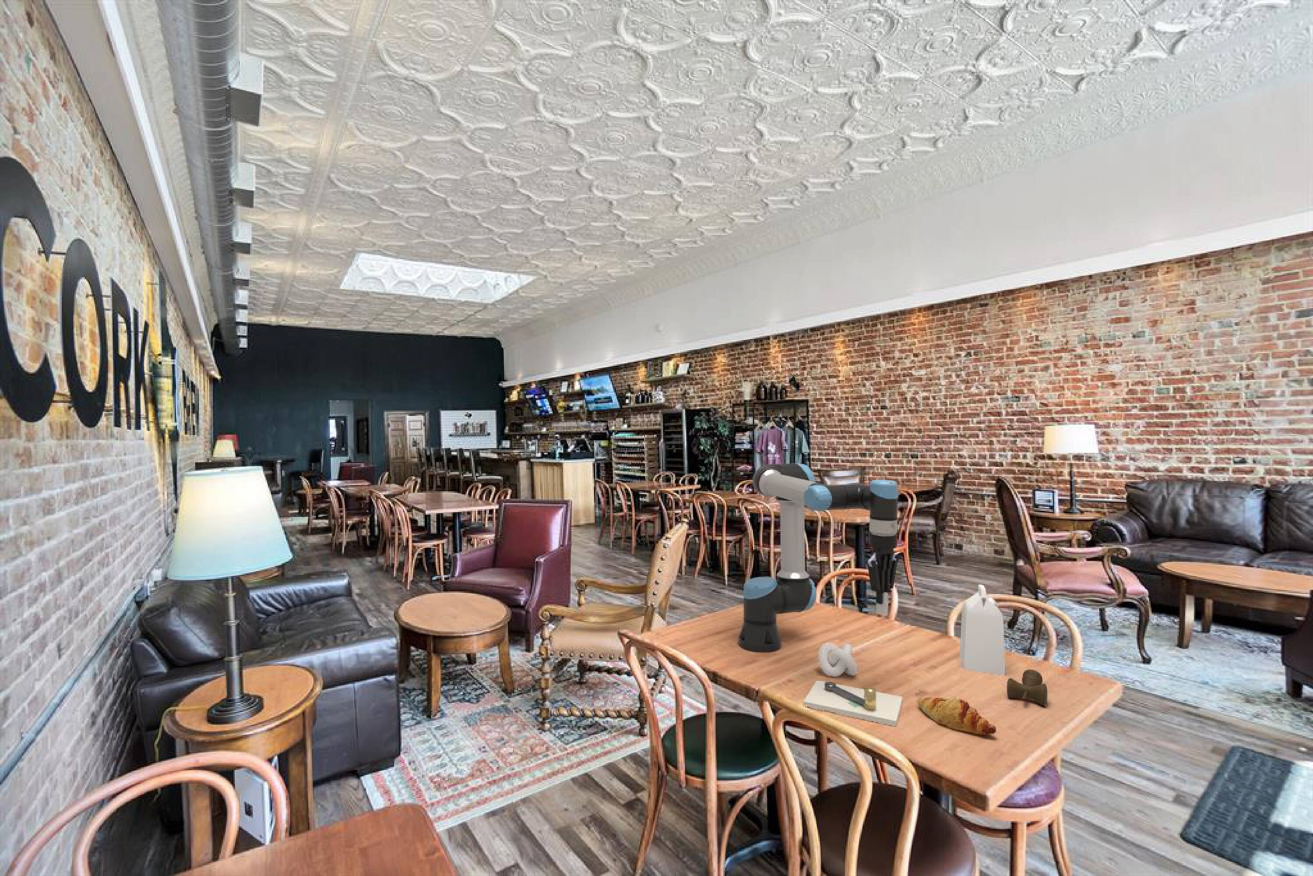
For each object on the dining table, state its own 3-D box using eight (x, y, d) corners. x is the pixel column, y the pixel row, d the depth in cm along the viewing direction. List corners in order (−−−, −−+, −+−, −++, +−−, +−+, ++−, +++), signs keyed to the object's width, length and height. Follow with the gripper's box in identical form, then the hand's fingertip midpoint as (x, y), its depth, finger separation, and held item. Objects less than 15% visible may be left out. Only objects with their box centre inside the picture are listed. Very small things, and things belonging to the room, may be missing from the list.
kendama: (1052, 691, 177) (1044, 714, 161) (1014, 683, 183) (1004, 705, 167) (1051, 670, 177) (1044, 691, 161) (1014, 664, 183) (1003, 683, 167)
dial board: (803, 706, 165) (803, 701, 165) (816, 685, 179) (816, 680, 179) (896, 726, 154) (896, 720, 154) (902, 702, 168) (902, 696, 168)
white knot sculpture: (823, 663, 197) (823, 636, 197) (861, 669, 191) (861, 642, 191) (815, 675, 187) (815, 647, 187) (855, 683, 181) (855, 653, 181)
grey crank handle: (822, 687, 173) (822, 670, 173) (829, 685, 175) (830, 668, 175) (870, 710, 158) (870, 692, 158) (878, 708, 160) (878, 689, 160)
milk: (959, 657, 202) (960, 580, 201) (998, 662, 198) (998, 584, 197) (964, 670, 190) (964, 589, 190) (1005, 676, 186) (1005, 593, 186)
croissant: (911, 722, 164) (903, 700, 162) (929, 697, 169) (921, 675, 167) (990, 755, 146) (982, 730, 144) (1008, 726, 151) (1000, 702, 149)
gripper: (880, 538, 166) (879, 622, 166) (908, 533, 173) (906, 613, 174) (858, 533, 172) (856, 614, 173) (885, 529, 179) (884, 607, 180)
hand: (881, 614), depth 173 cm, fingers closed
